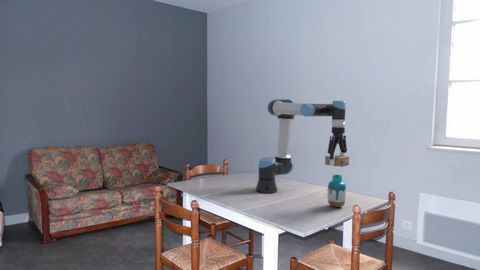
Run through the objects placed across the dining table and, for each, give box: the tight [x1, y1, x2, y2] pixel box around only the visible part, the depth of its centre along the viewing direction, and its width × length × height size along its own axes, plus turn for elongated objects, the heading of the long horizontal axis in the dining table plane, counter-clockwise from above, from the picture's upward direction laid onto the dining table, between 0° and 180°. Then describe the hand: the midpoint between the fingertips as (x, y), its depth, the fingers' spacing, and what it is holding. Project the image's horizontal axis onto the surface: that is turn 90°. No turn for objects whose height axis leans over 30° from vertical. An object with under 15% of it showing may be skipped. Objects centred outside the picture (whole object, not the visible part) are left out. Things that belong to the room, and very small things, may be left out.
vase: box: [327, 174, 347, 208], centre depth 217 cm, size 11×11×19 cm
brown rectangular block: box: [324, 154, 350, 167], centre depth 215 cm, size 11×9×5 cm
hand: (337, 164), depth 215 cm, fingers closed on brown rectangular block, 9 cm apart
